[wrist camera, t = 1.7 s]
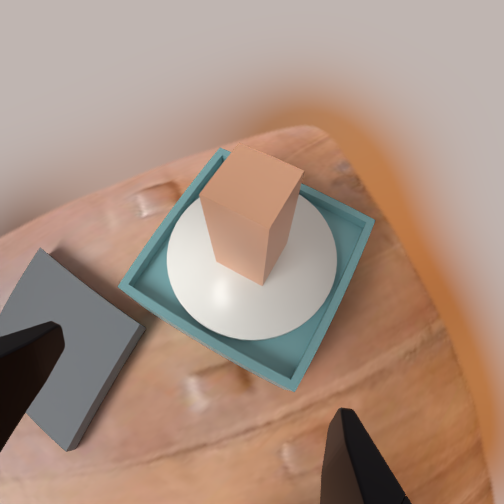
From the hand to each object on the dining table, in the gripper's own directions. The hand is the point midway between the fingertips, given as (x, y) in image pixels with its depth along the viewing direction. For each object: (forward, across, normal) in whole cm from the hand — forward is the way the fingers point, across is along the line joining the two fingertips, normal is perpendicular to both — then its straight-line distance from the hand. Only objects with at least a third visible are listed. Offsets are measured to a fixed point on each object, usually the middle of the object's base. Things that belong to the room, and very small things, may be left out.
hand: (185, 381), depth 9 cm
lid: (+12, 0, +1) cm, 12 cm away
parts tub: (+15, 0, +4) cm, 16 cm away
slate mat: (+8, +14, +11) cm, 20 cm away
